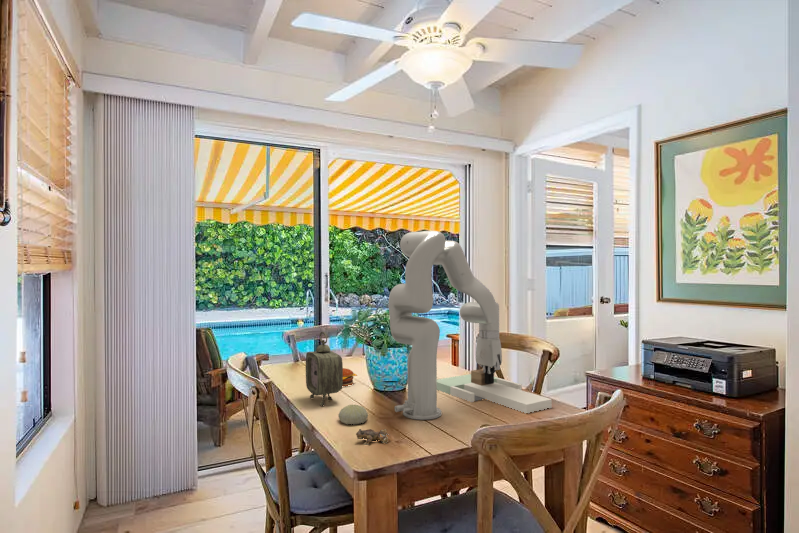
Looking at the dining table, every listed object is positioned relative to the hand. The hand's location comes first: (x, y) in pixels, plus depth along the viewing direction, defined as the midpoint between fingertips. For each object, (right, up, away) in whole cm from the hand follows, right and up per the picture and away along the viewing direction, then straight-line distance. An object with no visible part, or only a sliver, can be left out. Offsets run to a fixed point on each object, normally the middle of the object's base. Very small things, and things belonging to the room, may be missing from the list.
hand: (489, 383), depth 184 cm
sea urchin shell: (-48, -5, -31) cm, 57 cm away
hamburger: (-57, -5, +16) cm, 59 cm away
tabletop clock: (-61, -5, -9) cm, 61 cm away
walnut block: (-2, -1, +5) cm, 6 cm away
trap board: (+1, -4, -2) cm, 5 cm away
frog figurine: (-41, -5, -47) cm, 63 cm away
